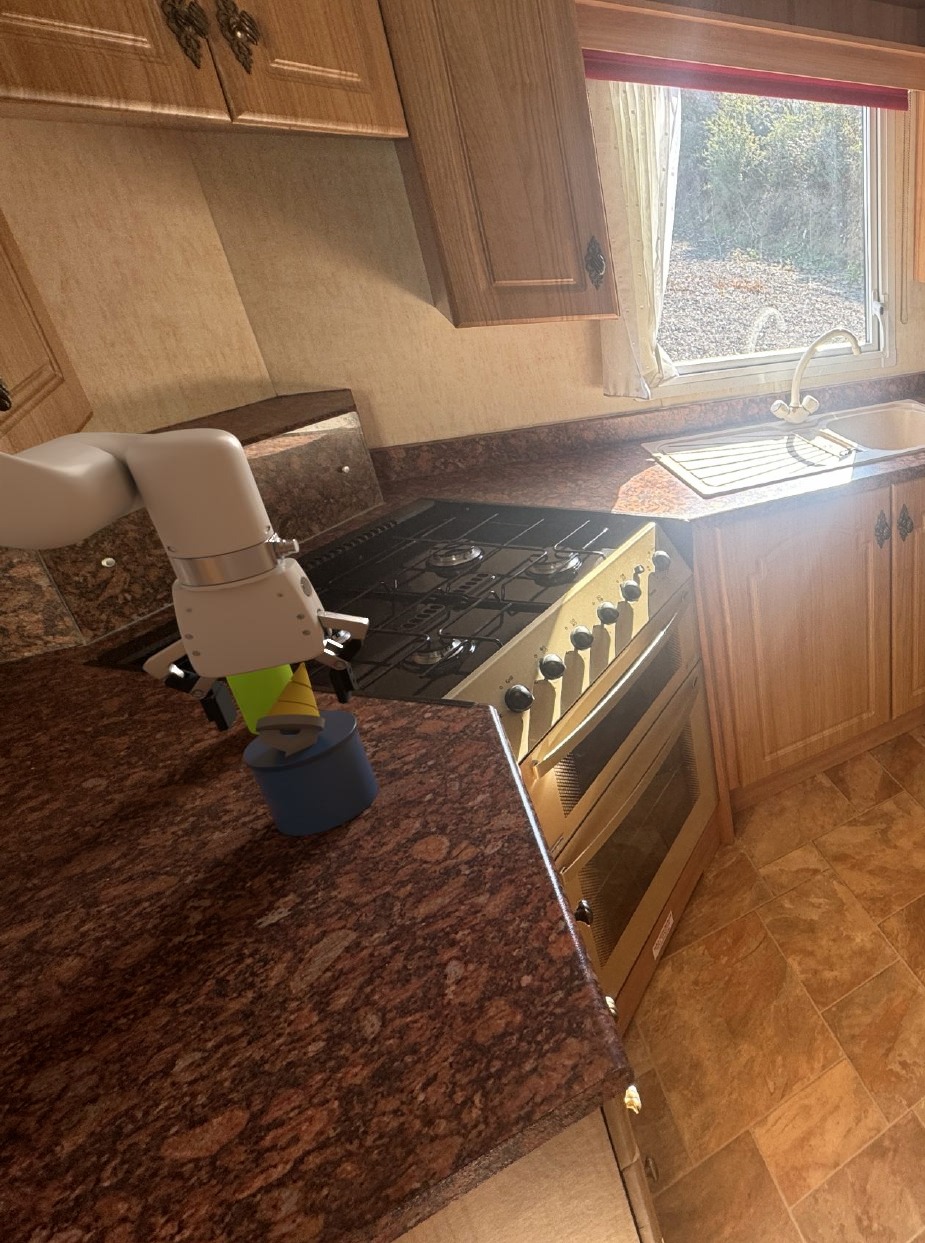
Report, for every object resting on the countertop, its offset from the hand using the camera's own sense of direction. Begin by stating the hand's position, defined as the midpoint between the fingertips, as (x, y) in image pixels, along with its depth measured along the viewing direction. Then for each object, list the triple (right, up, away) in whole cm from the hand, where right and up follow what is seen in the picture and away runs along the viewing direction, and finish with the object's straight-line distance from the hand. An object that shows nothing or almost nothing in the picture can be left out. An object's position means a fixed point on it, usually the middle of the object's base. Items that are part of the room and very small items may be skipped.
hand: (289, 709), depth 76 cm
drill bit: (0, -3, +1) cm, 4 cm away
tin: (0, -12, +5) cm, 13 cm away
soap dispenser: (-18, -6, +19) cm, 27 cm away
